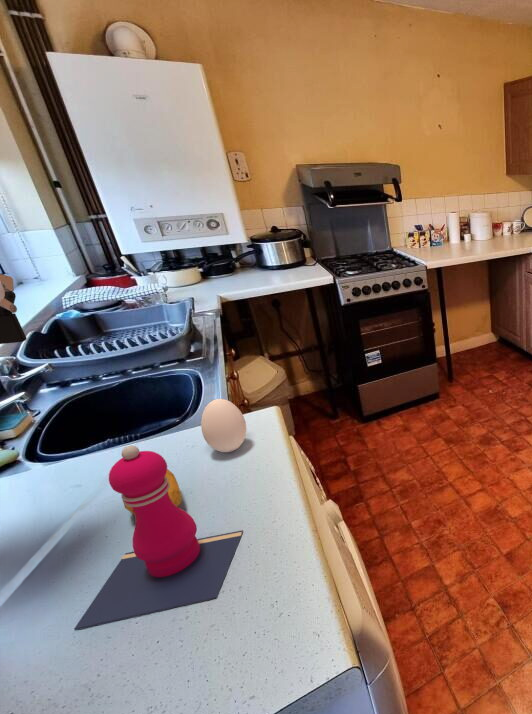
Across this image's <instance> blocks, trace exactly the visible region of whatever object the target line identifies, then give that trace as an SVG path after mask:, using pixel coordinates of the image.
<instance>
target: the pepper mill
mask: <svg viewBox="0 0 532 714" xmlns="http://www.w3.org/2000/svg"><path fill="white" fill-rule="evenodd" d="M120 454H121V458H120V459H119V460H117V461H116V462H115V463H114V464H113V465H112V467H111V468H110V470H109V474H108V482H109V483H108V484H109V486H110V487H111V489H112V490H113V491H114V492H116V493H118V494H121V499H122V501H123V500H124V503H123V505H124V504H125V505H126V506H128V507H132V509H133V510H134V513H135V515H134V516H135V525H134V530H133V535H132V549H133V552H134V553H135V555H136V556H137V558H138V559H140V560H143V561H145V565H146V567H147V570H148V572H149V573H150V575H152V576H154V577H166V576H170V575H173V574H175V573H178V572H179V571H181V570H183V569H185V568H186V567H187V566H189V565H190V564H191V563H192V562H193V561H194V560H195V559H196V558H197V556H198V554H199V552H200V545H199V543H198V540H197V539H198V538H197V537H196V534H197V529H198V528H197V524H196V521H195V519H194V518H193V517H192V516H191V515H190V514H189V512H187V511H186V510H184V509H182V508H180V507H179V506H178V507H177V506H176V505H175V504H174V503H173V502H172V501H171V499H170V497H169V494H168V490H169V488H170V484H169V482H168V479H167V477H165V475H166V473H167V469H168V463H167V461H166V459H165V458H164V457H163V455H161V454H159V453H158V452H155V451H152V450H141V451H140V449H139V447H138V446H136V445H128V446H125V447H124V448H122V450H121V453H120Z"/></svg>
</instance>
